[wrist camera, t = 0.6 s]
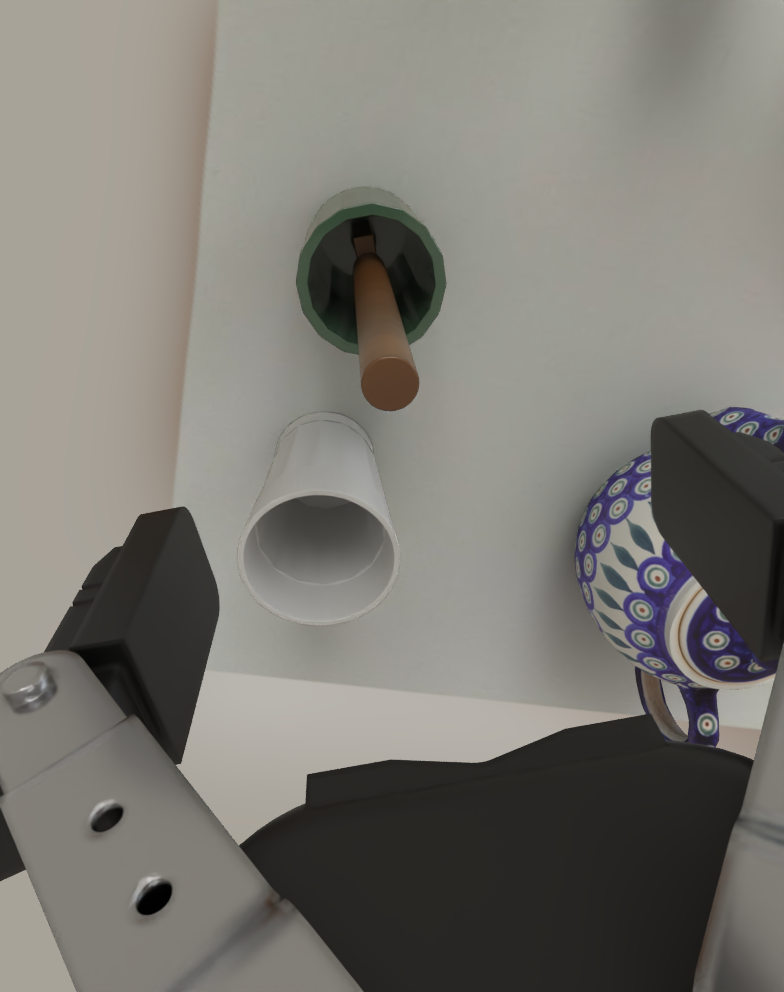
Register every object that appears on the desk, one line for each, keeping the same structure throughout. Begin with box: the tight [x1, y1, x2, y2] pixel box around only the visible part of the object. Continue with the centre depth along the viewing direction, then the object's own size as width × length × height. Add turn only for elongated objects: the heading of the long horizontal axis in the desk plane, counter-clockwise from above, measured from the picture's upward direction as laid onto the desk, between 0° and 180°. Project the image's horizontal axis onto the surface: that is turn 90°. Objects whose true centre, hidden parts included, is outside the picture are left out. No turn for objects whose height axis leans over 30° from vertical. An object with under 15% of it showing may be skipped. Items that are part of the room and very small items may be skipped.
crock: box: [296, 187, 446, 355], centre depth 35 cm, size 7×7×9 cm
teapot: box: [575, 407, 784, 747], centre depth 42 cm, size 25×15×15 cm, turn 173°
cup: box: [237, 412, 400, 626], centre depth 39 cm, size 8×8×12 cm
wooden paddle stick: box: [352, 221, 419, 411], centre depth 29 cm, size 3×2×22 cm, turn 10°
